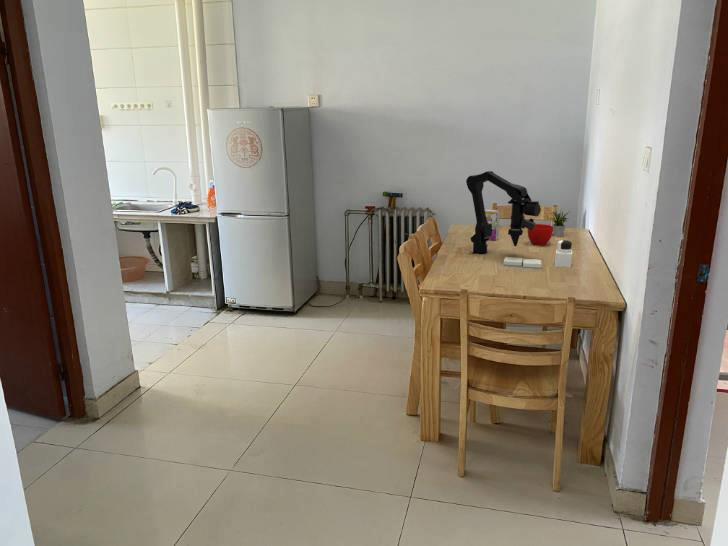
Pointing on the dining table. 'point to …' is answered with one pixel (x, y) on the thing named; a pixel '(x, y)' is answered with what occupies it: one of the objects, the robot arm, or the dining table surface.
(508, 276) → the dining table surface
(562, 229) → the house plant
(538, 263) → the flat tile
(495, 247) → the dining table surface
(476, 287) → the dining table surface
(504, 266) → the mat
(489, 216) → the candy bar box
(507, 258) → the tile
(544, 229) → the ceramic cup
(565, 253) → the medicine bottle
